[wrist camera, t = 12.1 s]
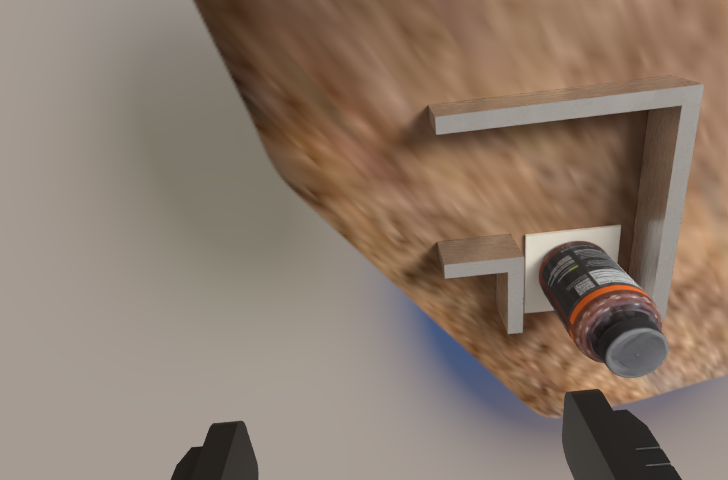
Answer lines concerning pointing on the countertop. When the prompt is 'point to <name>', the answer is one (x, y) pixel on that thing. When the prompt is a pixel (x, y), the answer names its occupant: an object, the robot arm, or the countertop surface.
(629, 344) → the supplement bottle
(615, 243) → the pad
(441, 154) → the countertop surface
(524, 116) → the grey angled wall frame
